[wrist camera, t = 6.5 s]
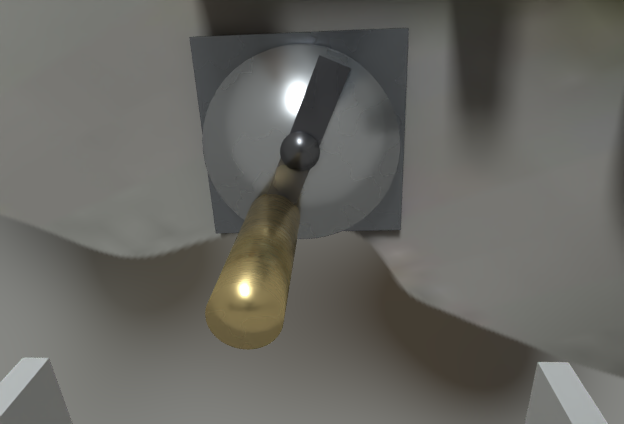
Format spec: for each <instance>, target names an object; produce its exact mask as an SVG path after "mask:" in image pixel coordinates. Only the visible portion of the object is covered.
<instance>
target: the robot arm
mask: <svg viewBox="0 0 624 424" xmlns="http://www.w3.org/2000/svg"><path fill="white" fill-rule="evenodd" d="M0 424H73V423H72V421H71V418H70V415H69V412H68V409H67V407H66V404H65V401H64V398H63V396H62V393H61V390H60V387H59V384H58V381H57V379H56V376H55V373H54V371H53V368H52V365H51V362H50V359H49V358H22V359H21V360H20V361H19V363H18V364H17V365H16V366H15V367H14V368H13V369H12V370H11V371H10V372H9V373H8V375H7V376H6V377H5V378H4V379H3V380H2V381H1V382H0ZM525 424H608V423H607V421H606V420H605V418H604V417H603V415H602V413H601V412H600V410H599V409H598V407H597V406H596V404H595V403H594V401H593V399H592V398H591V396H590V395H589V393H588V392H587V390H586V389H585V387H584V386H583V384H582V382H581V381H580V379H579V378H578V376H577V375H576V373H575V372H574V370H573V369H572V367H571V365H570V364H569V362H538V363H537V368H536V372H535V377H534V382H533V387H532V391H531V396H530V401H529V406H528V410H527V415H526V420H525Z"/></svg>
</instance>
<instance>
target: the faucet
mask: <svg viewBox="0 0 624 424" xmlns="http://www.w3.org/2000/svg"><path fill="white" fill-rule="evenodd" d="M202 141H203V154H204V159H205V164H206V167H207V170H208V174H209V176H210V178H211V180H212V183H213V185H214V187H215V188H216V190H217V192H218V193H219V195H220V196H221V198H222V199H223V200H224V201H225V203H226V204H227V205H228V206H229V207H230V208H231V209H232V210H233V211H234V212H235V213H236V214H237V215H238V216H240V217H241V218H242V219H244V222H243V225H242V227H241V229H240V231H239V234H238V236H237V238H236V240H235V243H234V245H233V247H232V249H231V252H230V254H229V256H228V258H227V261H226V263H225V265H224V267H223V270H222V272H221V274H220V277H219V279H218V281H217V283H216V285H215V288H214V290H213V292H212V295H211V297H210V299H209V301H208V304H207V307H206V312H205V315H206V322H207V324H208V327H209V328H210V330H211V332H212V333H213V334H214V335H215V336H216V337H217V338H218V339H219V340H221V341H222V342H223V343H225V344H227V345H229V346H232V347H235V348H239V349H257V348H261V347H263V346H266V345H268V344H270V343H271V342H272V341H274V340H275V338H276V337H277V336H278V335H279V334H280V332H281V330H282V327H283V322H284V316H285V310H286V304H287V298H288V291H289V285H290V279H291V273H292V267H293V261H294V254H295V247H296V242H297V239H308V238H309V239H310V238H319V237H325V236H329V235H332V234H335V233H338V232H341V231H343V230H345V229H347V228H349V227H351V226H353V225H354V224H356V223H358V222H359V221H361V220H362V219H363V218H364V217H366V216H367V215H368V214H369V213H370V212H371V211H372V210H373V209H374V208H375V207H376V206H377V205H378V204H379V202H380V201H381V200H382V199H383V197H384V196H385V194H386V192H387V191H388V189H389V187H390V185H391V183H392V181H393V178H394V176H395V173H396V169H397V165H398V161H399V153H400V135H399V128H398V122H397V119H396V115H395V112H394V109H393V107H392V105H391V103H390V100H389V98H388V97H387V95H386V93H385V92H384V90H383V89H382V87H381V86H380V84H379V83H378V82H377V81H376V79H375V78H374V77H373V76H372V75H371V73H370V72H368V71H367V70H366V69H365V68H364V67H363V66H362V65H361V64H359V63H358V62H357V61H355V60H354V59H352V58H351V57H349V56H347V55H345V54H343V53H341V52H339V51H337V50H334V49H331V48H328V47H324V46H319V45H314V44H290V45H283V46H279V47H275V48H272V49H269V50H267V51H264V52H262V53H259V54H257V55H255V56H253V57H252V58H250V59H248V60H246V61H245V62H243V63H242V64H241V65H239V66H238V67H237V68H235V69H234V70H233V71H232V72H231V73H230V74H229V75H228V76H227V77H226V78H225V79H224V81H223V82H222V83H221V85H220V86H219V88H218V89H217V90H216V92H215V94H214V96H213V98H212V100H211V102H210V104H209V107H208V110H207V113H206V116H205V121H204V126H203V137H202Z"/></svg>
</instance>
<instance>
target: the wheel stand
mask: <svg viewBox="0 0 624 424" xmlns="http://www.w3.org/2000/svg"><path fill="white" fill-rule="evenodd" d="M408 31H409V28H390V29H366V30H343V31H319V32H295V33H271V34H247V35H223V36H199V37H190V45H191V52H192V59H193V67H194V74H195V82H196V89H197V97H198V104H199V111H200V119H201V126H202V134H203V126H204V121H205V116H206V113H207V110H208V107H209V104H210V102H211V100H212V98H213V96H214V94H215V92H216V90H217V89H218V88H219V86H220V85H221V83H222V82H223V81H224V79H225V78H226V77H227V76H228V75H229V74H230V73H231V72H232V71H233V70H234V69H235V68H237V67H238V66H239V65H241V64H242V63H243V62H245V61H246V60H248V59H250V58H252V57H253V56H255V55H257V54H259V53H262V52H264V51H267V50H269V49H272V48H275V47H279V46H283V45H290V44H314V45H319V46H324V47H328V48H331V49H334V50H337V51H339V52H341V53H343V54H345V55H347V56H349V57H351V58H352V59H354V60H355V61H357V62H358V63H359V64H361V65H362V66H363V67H364V68H365V69H366V70H367V71H368V72H370V73H371V75H372V76H373V77H374V78H375V79H376V81H377V82H378V83H379V84H380V86H381V87H382V89H383V90H384V92H385V93H386V95H387V97H388V98H389V100H390V103H391V105H392V107H393V109H394V112H395V115H396V119H397V122H398V128H399V135H400V153H399V161H398V165H397V169H396V173H395V176H394V178H393V181H392V183H391V185H390V187H389V189H388V191H387V192H386V194H385V196H384V197H383V199H382V200H381V201H380V202H379V204H378V205H377V206H376V207H375V208H374V209H373V210H372V211H371V212H370V213H369V214H368V215H367V216H366V217H364V218H363V219H362V220H361V221H359V222H358V223H356V224H354V225H353V226H351V227H349V228H347V229H345V230H343V231H365V230H401V206H402V181H403V156H404V131H405V106H406V81H407V56H408ZM207 171H208V170H207ZM208 178H209V186H210V193H211V200H212V208H213V215H214V223H215V230H216V233H239V231H240V229H241V227H242V225H243V222H244V219H242V218H241V217H240V216H238V215H237V214H236V213H235V212H234V211H233V210H232V209H231V208H230V207H229V206H228V205H227V204H226V203H225V201H224V200H223V199H222V198H221V196H220V195H219V193H218V192H217V190H216V188H215V187H214V185H213V183H212V180H211V178H210V176H209V174H208Z"/></svg>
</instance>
